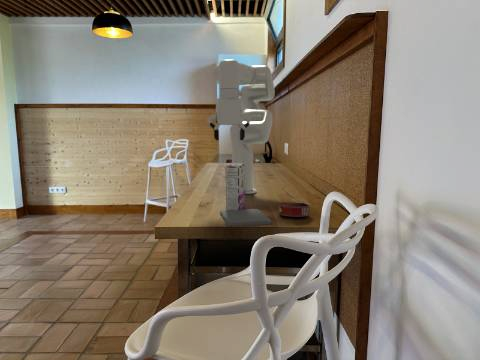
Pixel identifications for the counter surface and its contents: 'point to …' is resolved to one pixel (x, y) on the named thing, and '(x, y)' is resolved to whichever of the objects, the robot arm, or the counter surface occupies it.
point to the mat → (244, 217)
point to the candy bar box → (235, 187)
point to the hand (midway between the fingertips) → (229, 140)
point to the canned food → (294, 208)
